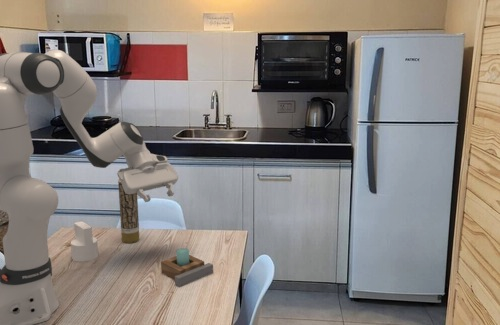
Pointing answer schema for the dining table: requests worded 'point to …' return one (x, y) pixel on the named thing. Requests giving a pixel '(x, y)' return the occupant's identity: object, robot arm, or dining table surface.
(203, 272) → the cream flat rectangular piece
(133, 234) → the wooden log cylinder
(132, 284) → the dining table surface
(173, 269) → the socket block
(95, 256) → the base with upright slab
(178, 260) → the teal rounded peg
